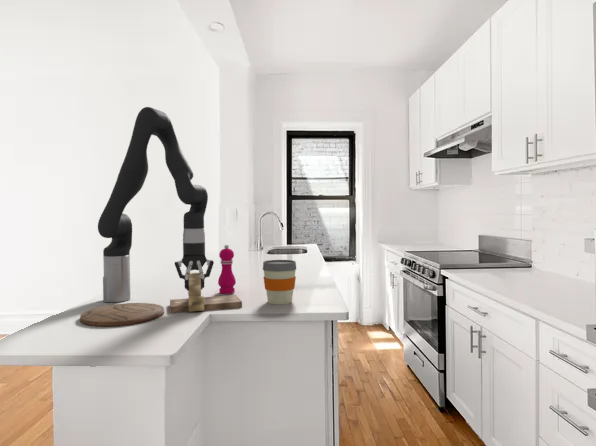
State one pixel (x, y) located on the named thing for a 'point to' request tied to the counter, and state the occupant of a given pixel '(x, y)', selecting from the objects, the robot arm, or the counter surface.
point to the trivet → (121, 314)
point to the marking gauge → (195, 293)
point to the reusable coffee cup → (279, 280)
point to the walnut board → (207, 303)
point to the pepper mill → (226, 272)
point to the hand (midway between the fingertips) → (194, 289)
